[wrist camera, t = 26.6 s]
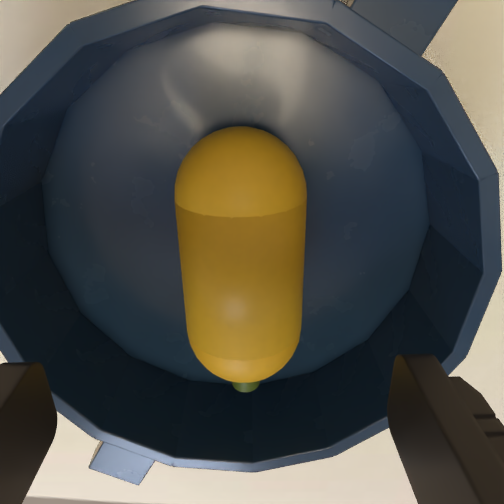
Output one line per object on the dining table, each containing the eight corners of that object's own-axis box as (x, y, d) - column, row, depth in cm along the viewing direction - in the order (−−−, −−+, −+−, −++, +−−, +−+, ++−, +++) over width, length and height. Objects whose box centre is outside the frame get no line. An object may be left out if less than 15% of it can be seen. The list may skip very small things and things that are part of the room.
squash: (288, 346, 21) (309, 419, 16) (194, 353, 20) (190, 429, 16) (294, 116, 16) (326, 136, 12) (173, 119, 16) (160, 141, 11)
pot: (-26, 341, 21) (-103, 421, 16) (162, -206, 12) (112, -357, 8) (275, 458, 24) (281, 550, 20) (574, 96, 16) (703, 111, 11)
